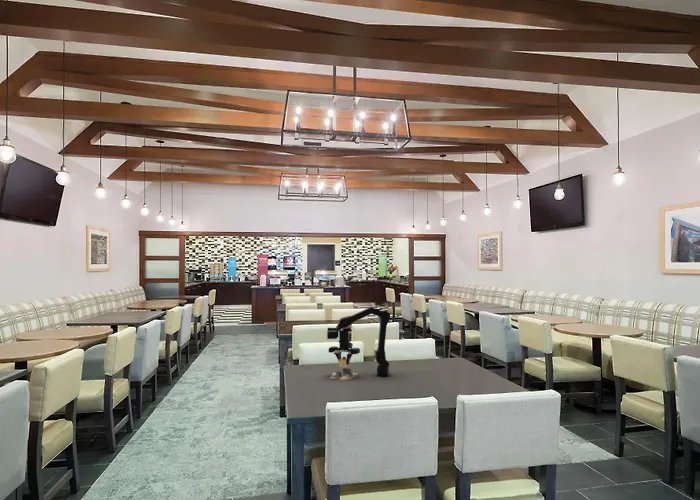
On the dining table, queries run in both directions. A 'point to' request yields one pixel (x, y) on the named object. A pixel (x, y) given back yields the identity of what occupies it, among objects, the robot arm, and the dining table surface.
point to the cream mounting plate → (346, 374)
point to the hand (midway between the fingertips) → (344, 364)
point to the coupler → (343, 362)
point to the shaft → (336, 374)
